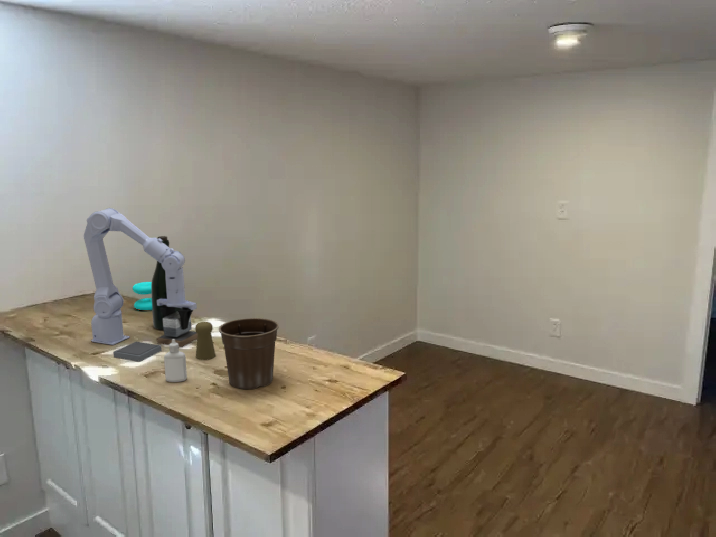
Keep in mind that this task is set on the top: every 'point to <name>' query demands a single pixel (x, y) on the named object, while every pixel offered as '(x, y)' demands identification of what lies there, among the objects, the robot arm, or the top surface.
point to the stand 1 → (137, 351)
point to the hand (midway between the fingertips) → (178, 327)
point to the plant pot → (249, 351)
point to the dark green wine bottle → (159, 290)
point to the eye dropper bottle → (175, 364)
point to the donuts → (143, 290)
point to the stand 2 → (178, 339)
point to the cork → (204, 341)
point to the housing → (174, 325)
